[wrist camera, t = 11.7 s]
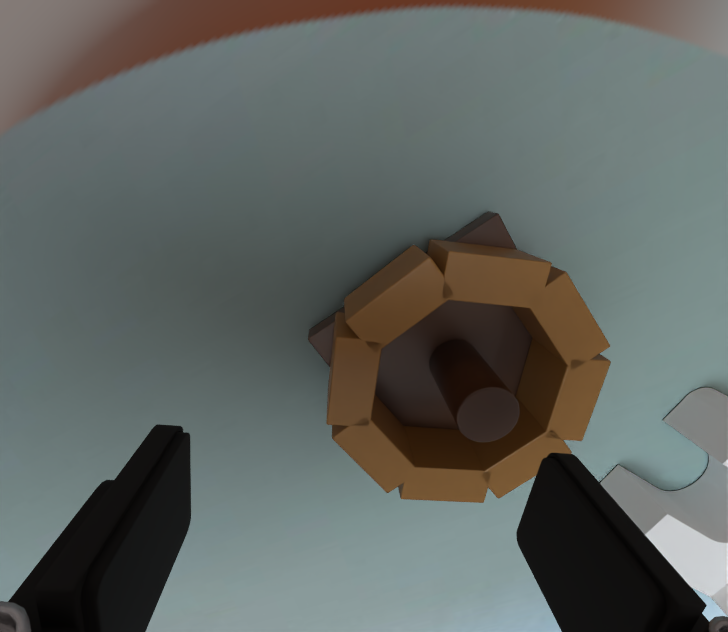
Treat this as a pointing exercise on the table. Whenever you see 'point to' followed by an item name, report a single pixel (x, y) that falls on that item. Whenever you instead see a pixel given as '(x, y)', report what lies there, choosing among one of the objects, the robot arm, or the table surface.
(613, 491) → the white slotted bracket
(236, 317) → the table surface
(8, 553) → the table surface
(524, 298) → the segmented block ring
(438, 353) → the peg stand
